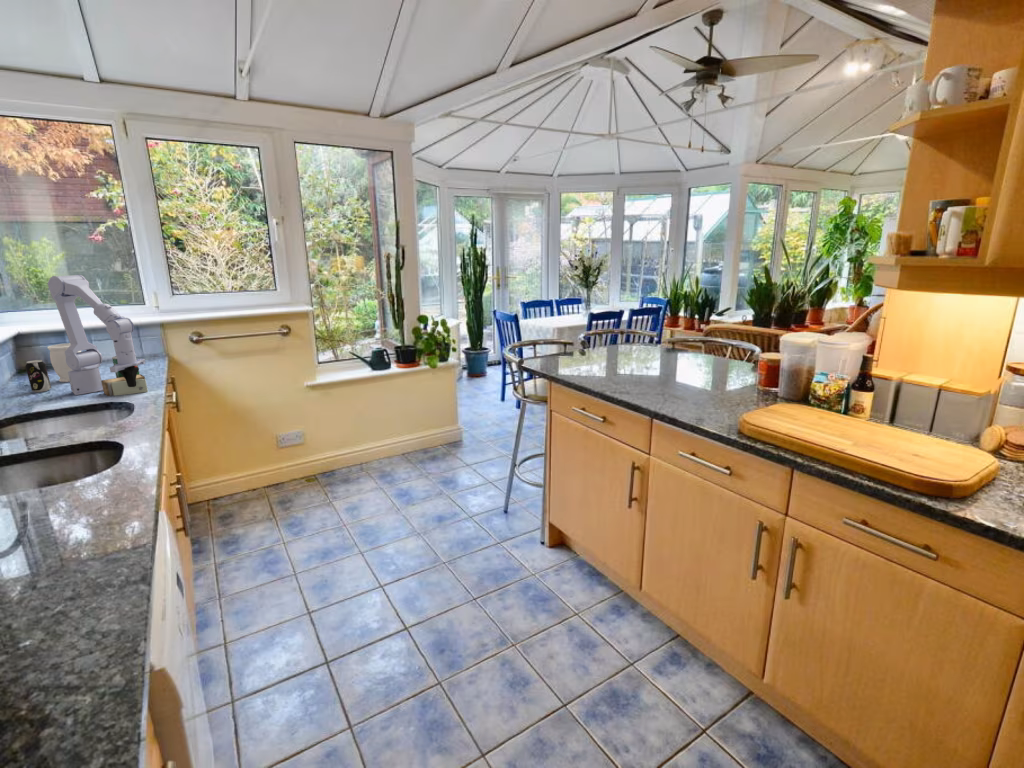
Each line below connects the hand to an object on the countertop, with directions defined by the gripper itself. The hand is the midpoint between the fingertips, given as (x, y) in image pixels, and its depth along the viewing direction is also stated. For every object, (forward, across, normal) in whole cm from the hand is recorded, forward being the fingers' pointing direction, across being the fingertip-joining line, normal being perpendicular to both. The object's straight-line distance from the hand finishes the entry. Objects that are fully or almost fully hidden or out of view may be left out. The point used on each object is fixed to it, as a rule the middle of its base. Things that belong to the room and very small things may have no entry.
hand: (132, 386), depth 193 cm
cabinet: (+3, +4, +6) cm, 8 cm away
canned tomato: (+3, +17, +15) cm, 23 cm away
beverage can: (+3, +4, +40) cm, 41 cm away
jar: (+3, +21, +43) cm, 48 cm away
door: (+3, 0, +2) cm, 4 cm away
